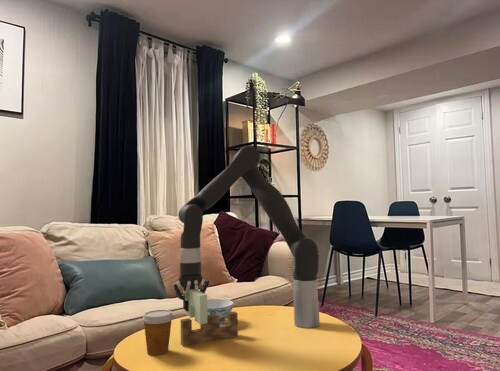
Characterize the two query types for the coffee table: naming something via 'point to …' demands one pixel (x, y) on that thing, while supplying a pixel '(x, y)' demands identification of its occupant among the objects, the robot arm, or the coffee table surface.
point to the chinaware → (219, 308)
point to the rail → (209, 329)
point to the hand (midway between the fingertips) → (190, 310)
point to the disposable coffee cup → (157, 331)
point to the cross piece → (197, 306)
